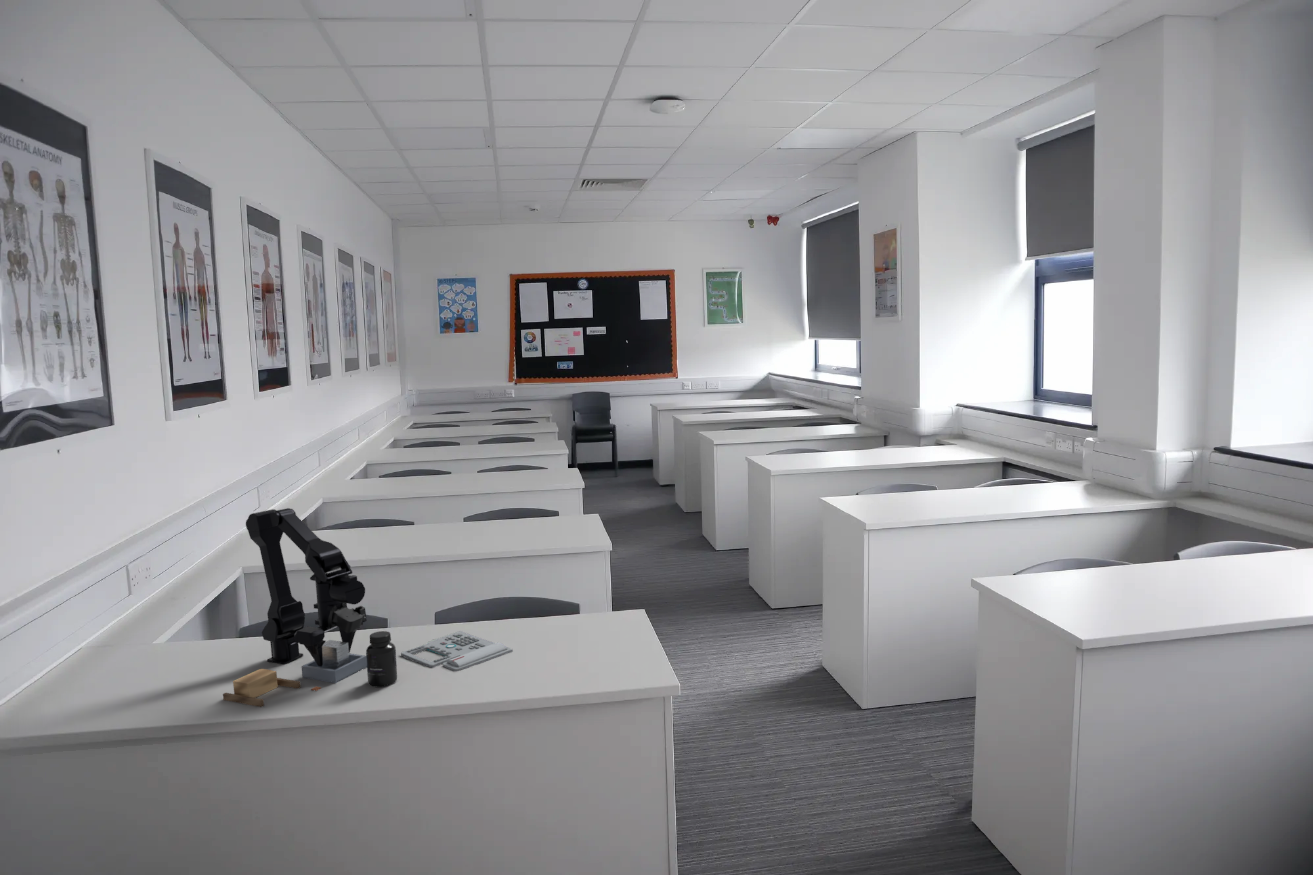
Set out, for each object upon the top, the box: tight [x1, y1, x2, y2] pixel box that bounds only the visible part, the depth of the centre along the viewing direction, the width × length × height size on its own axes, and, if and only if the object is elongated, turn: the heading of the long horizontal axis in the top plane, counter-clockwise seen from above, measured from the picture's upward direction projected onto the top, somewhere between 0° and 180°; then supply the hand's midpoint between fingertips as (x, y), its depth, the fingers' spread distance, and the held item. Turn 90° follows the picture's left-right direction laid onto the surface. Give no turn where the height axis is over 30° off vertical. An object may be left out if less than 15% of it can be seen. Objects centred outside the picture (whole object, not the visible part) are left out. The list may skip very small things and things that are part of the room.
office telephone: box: [400, 630, 513, 672], centre depth 224 cm, size 23×3×20 cm
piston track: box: [222, 677, 322, 708], centre depth 201 cm, size 17×13×2 cm
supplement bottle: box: [365, 630, 398, 688], centre depth 206 cm, size 7×7×12 cm
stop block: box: [320, 639, 350, 670], centre depth 213 cm, size 6×4×7 cm, turn 66°
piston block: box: [232, 668, 279, 698], centre depth 202 cm, size 5×8×4 cm, turn 157°
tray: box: [300, 653, 367, 684], centre depth 214 cm, size 11×11×3 cm
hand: (334, 659), depth 213 cm, fingers open, 9 cm apart
